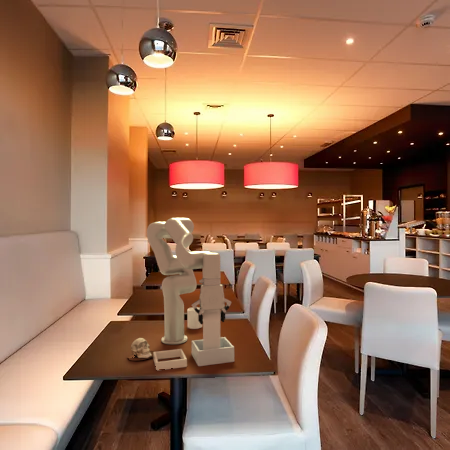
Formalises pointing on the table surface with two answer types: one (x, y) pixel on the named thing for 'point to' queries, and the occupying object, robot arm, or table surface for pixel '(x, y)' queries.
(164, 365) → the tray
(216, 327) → the milk carton
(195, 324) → the mug
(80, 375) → the table surface
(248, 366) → the table surface
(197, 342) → the tub
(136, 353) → the skull
